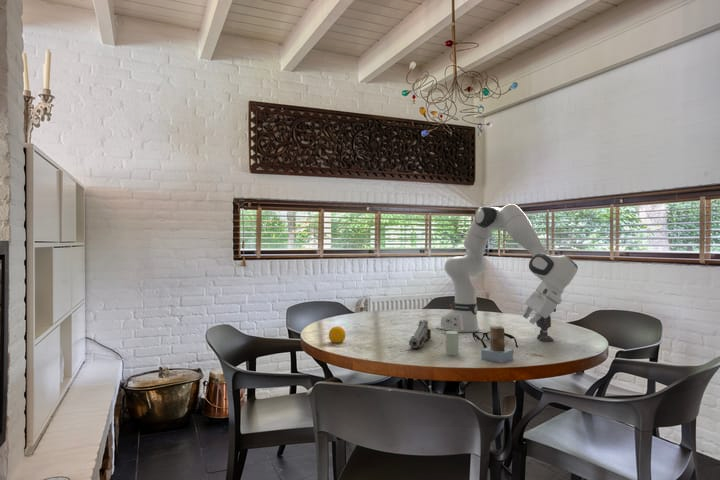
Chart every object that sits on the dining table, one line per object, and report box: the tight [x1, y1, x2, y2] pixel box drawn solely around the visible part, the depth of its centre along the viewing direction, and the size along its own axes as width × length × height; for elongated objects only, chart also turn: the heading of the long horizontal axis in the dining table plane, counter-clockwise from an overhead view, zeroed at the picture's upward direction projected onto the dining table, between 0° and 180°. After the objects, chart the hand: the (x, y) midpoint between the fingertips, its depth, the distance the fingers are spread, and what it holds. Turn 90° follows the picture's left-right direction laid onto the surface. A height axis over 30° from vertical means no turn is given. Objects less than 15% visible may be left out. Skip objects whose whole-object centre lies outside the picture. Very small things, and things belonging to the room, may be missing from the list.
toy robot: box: [535, 289, 557, 343], centre depth 216 cm, size 22×9×30 cm, turn 168°
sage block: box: [445, 330, 459, 356], centre depth 190 cm, size 4×4×9 cm
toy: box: [408, 319, 432, 350], centre depth 207 cm, size 6×24×10 cm, turn 160°
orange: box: [328, 326, 347, 344], centre depth 211 cm, size 8×8×8 cm
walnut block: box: [489, 325, 505, 351], centre depth 183 cm, size 4×4×9 cm
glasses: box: [471, 331, 519, 349], centre depth 208 cm, size 17×18×5 cm
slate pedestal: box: [480, 345, 514, 364], centre depth 183 cm, size 9×9×4 cm
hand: (527, 320), depth 184 cm, fingers open, 8 cm apart
